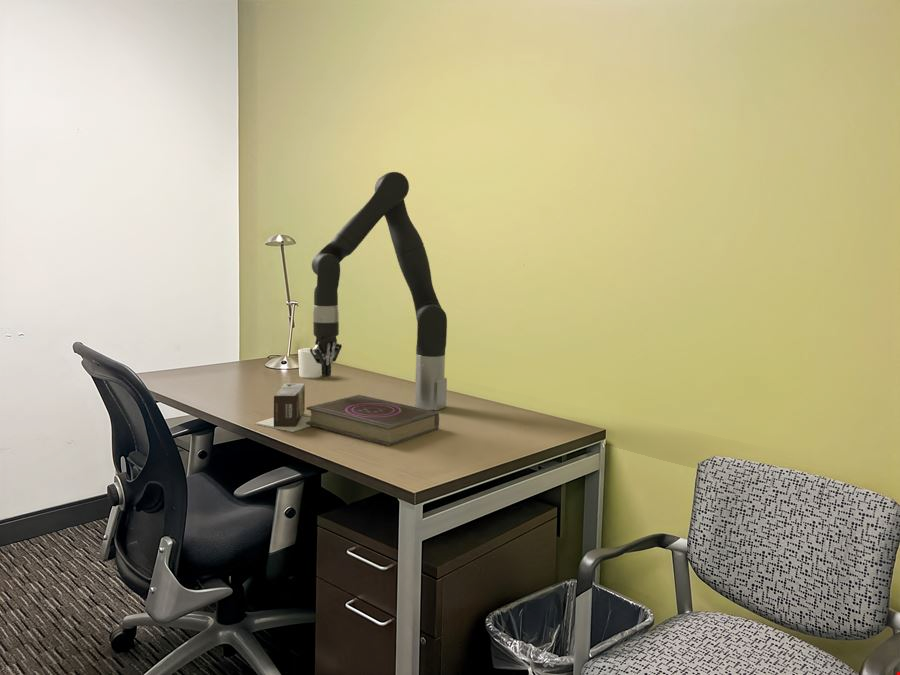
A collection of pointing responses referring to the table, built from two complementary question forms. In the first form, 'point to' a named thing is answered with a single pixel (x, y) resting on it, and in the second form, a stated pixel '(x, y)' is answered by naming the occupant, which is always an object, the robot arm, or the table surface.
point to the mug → (308, 365)
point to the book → (373, 419)
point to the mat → (299, 426)
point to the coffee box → (289, 404)
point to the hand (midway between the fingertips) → (326, 376)
